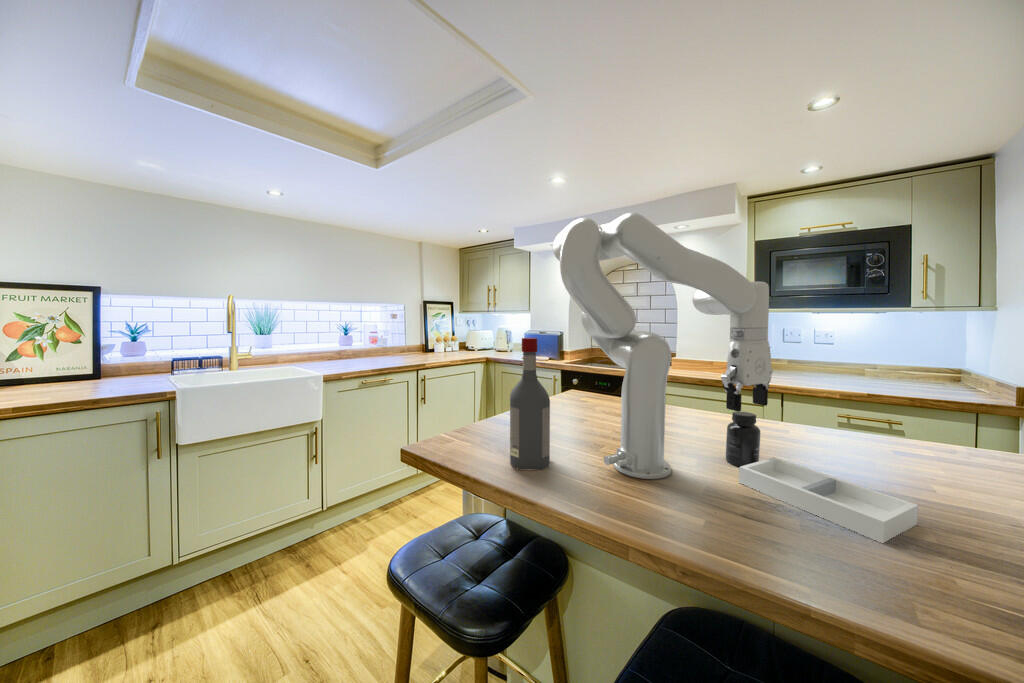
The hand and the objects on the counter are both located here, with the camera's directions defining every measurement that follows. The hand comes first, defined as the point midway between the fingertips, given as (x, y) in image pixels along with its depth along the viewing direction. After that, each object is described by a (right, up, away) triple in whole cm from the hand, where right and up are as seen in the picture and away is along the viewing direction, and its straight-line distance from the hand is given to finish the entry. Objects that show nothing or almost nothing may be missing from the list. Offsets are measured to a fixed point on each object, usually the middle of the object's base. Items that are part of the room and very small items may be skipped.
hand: (747, 407), depth 88 cm
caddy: (+2, -15, -17) cm, 23 cm away
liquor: (-52, -14, +1) cm, 53 cm away
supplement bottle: (-1, -14, +1) cm, 14 cm away
